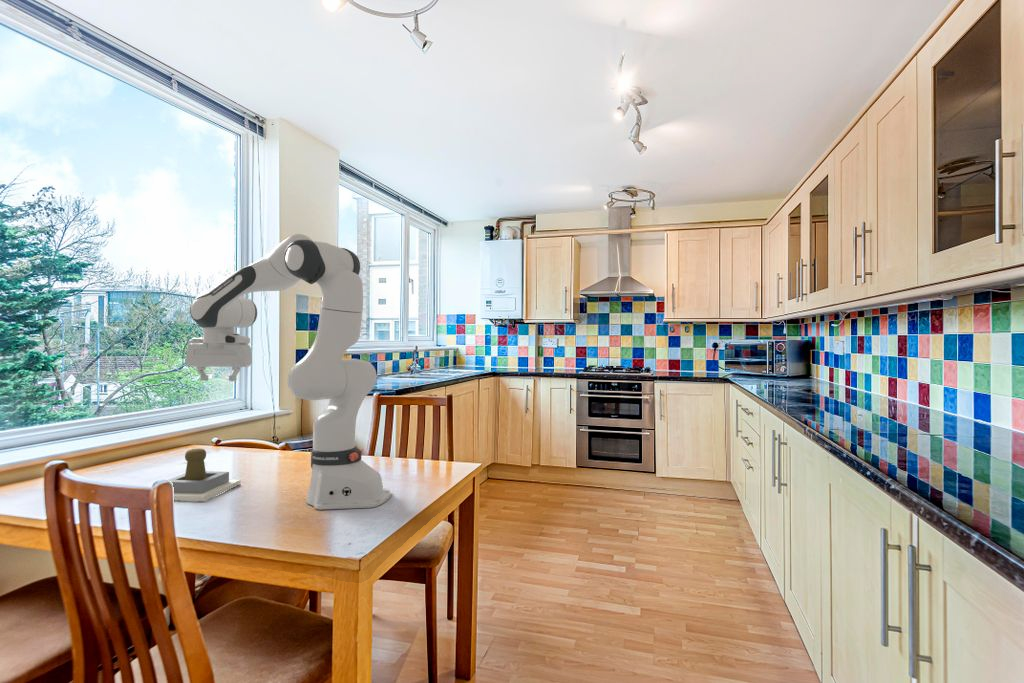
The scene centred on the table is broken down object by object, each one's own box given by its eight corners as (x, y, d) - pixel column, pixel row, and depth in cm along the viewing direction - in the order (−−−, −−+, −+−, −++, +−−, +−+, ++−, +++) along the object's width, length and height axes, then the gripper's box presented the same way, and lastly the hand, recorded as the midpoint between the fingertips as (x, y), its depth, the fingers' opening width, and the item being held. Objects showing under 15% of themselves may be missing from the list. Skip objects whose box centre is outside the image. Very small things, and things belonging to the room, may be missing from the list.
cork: (195, 490, 137) (195, 451, 137) (177, 489, 139) (177, 450, 139) (212, 484, 143) (213, 447, 143) (195, 483, 144) (195, 446, 144)
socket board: (240, 484, 149) (240, 470, 149) (204, 501, 133) (204, 485, 133) (190, 483, 150) (190, 469, 150) (148, 500, 134) (148, 483, 134)
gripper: (180, 337, 154) (180, 381, 154) (243, 338, 153) (242, 382, 153) (195, 338, 160) (194, 379, 160) (254, 338, 159) (254, 380, 159)
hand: (218, 381), depth 156 cm, fingers open, 8 cm apart
